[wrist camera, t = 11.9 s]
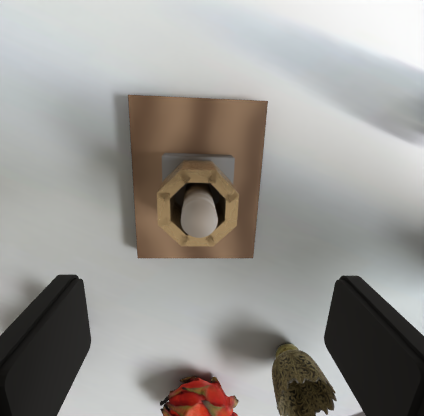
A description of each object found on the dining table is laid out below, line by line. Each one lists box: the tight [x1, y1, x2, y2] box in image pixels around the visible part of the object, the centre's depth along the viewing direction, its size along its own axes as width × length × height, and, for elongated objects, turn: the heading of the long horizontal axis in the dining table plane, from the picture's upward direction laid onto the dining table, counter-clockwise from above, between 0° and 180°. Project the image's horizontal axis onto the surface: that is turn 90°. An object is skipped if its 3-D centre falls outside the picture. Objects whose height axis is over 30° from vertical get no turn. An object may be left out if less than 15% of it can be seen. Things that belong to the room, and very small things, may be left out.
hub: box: [157, 160, 239, 246], centre depth 23 cm, size 6×6×6 cm
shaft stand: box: [128, 95, 268, 258], centre depth 24 cm, size 14×18×13 cm
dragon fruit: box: [160, 376, 238, 416], centre depth 37 cm, size 8×8×12 cm
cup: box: [272, 344, 337, 416], centre depth 36 cm, size 8×7×8 cm
